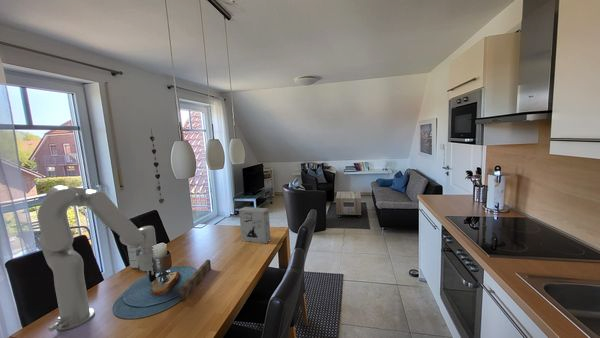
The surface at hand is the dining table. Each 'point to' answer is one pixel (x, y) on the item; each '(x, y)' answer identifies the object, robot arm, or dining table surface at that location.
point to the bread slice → (164, 288)
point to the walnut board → (194, 280)
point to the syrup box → (133, 256)
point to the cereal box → (255, 224)
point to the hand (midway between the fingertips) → (153, 280)
